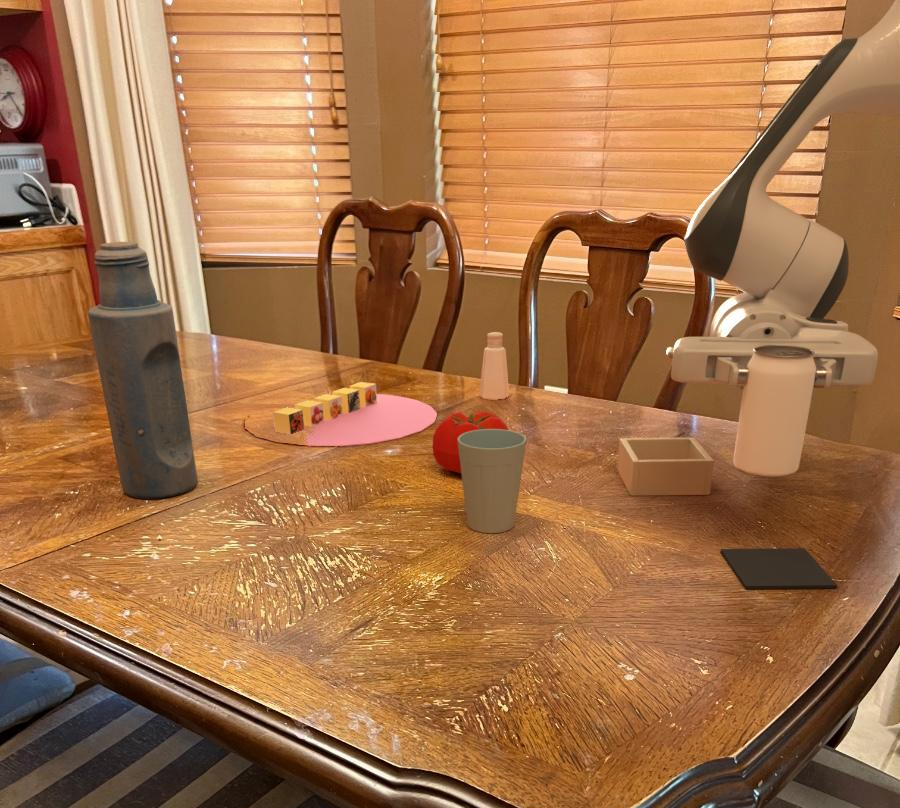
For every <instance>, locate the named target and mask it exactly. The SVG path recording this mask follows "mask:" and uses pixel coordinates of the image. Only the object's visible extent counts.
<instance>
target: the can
mask: <svg viewBox="0 0 900 808" xmlns="http://www.w3.org/2000/svg"><path fill="white" fill-rule="evenodd" d="M814 354H815V352H814V351H813V350H811V349H808V348H804V347H798V346H790V345H765V346H759V347H756V348H754V354H753V356H752V358H751V359H750V361H749V362H748V364H747V367H748V368H749V373H748V376H747V378H746V379H747V385H746V386H744V388H743V390H742V395H741V403H740V410H739V416H738V424H737V430H736V438H735V445H734V452H733V460H732V461H733V462H732V464H733V466H734V467H735V469H736V470H737V471H739V472H741V473H742V474H745V475H748V476H752V477H755V478H756V477H757V478H763V479H782V478H787V477H790V476H792V475H794V474H795V473H796V472H797V471H798V470H799V468H800V463H801V457H802V452H803V446H804V442H805V435H806V431H807V425H808V419H809V415H810V408H811V402H812V397H813V391H814V387H813V386H814V380H815V374H816V366H815V363H814V359H813V355H814Z"/></svg>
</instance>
